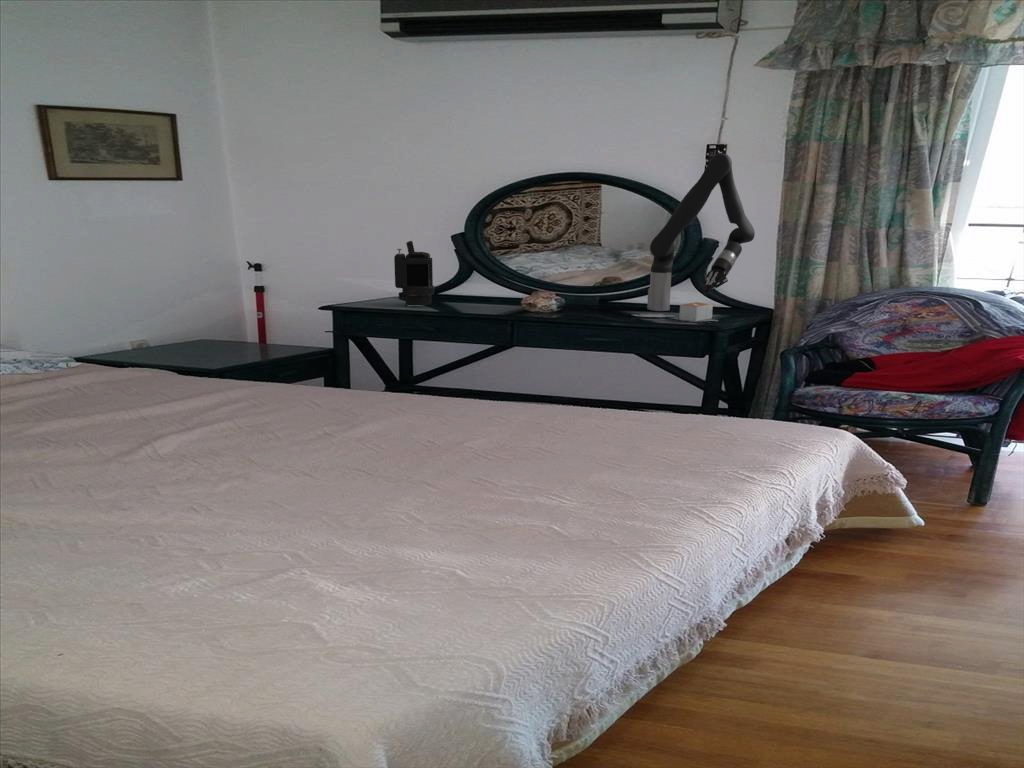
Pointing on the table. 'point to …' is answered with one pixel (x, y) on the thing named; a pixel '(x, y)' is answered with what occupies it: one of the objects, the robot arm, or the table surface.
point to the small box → (695, 311)
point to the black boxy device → (414, 276)
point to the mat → (696, 321)
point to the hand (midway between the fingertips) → (704, 293)
